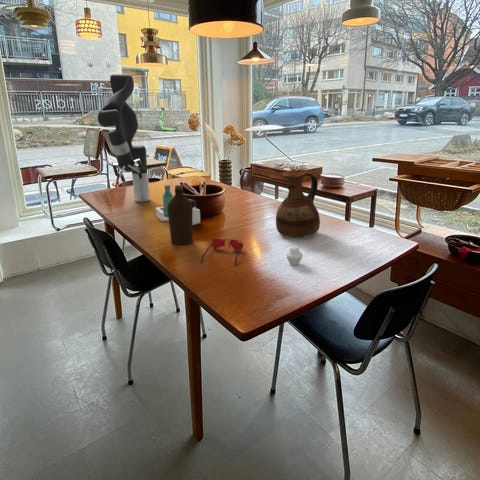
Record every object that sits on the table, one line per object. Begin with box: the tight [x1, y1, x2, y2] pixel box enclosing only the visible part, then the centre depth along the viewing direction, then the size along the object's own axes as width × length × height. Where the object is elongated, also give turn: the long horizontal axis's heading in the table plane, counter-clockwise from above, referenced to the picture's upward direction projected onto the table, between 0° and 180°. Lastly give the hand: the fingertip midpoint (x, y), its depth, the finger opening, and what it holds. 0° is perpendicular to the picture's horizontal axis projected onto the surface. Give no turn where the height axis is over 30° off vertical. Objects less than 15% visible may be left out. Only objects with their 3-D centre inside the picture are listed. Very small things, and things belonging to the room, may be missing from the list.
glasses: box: [200, 238, 244, 267], centre depth 147 cm, size 14×16×5 cm
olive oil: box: [167, 184, 194, 246], centre depth 159 cm, size 11×11×25 cm
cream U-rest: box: [155, 206, 169, 222], centre depth 197 cm, size 11×11×4 cm
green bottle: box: [162, 184, 174, 217], centre depth 194 cm, size 5×5×16 cm
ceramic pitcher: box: [275, 169, 321, 239], centre depth 167 cm, size 20×20×30 cm
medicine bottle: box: [187, 198, 201, 226], centre depth 186 cm, size 7×7×12 cm
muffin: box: [285, 246, 303, 266], centre depth 140 cm, size 6×6×7 cm
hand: (132, 180), depth 190 cm, fingers open, 8 cm apart
